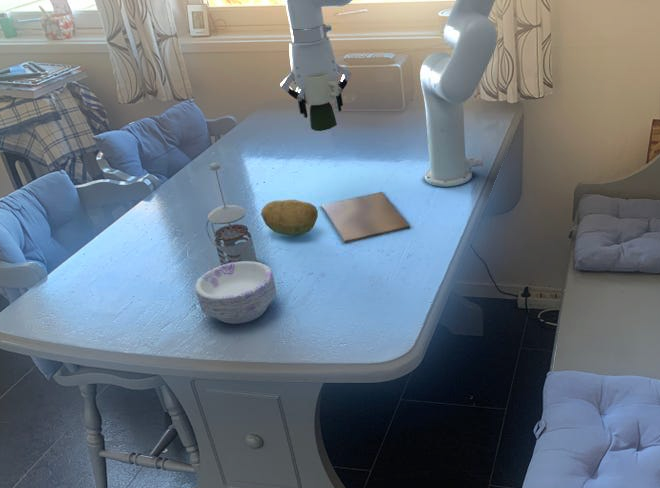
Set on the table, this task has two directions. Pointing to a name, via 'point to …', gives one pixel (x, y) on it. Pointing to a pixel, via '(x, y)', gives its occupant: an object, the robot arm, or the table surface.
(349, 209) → the placemat
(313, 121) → the character mug
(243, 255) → the french press
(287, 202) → the potato
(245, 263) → the paper bowls
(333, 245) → the table surface
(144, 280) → the table surface
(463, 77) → the robot arm
